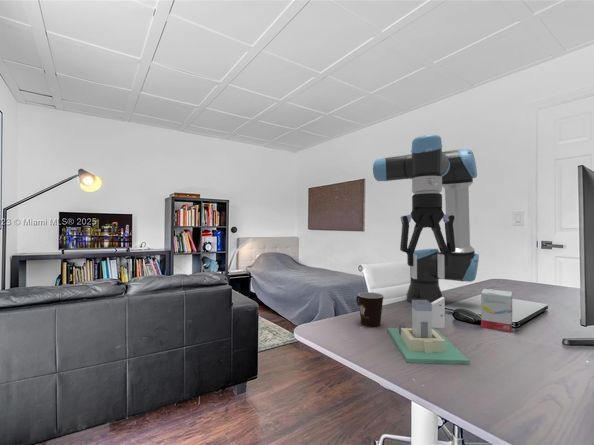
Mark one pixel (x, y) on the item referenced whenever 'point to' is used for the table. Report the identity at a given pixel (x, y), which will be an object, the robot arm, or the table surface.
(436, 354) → the board
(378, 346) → the table surface
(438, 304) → the white wedge bracket
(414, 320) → the plug
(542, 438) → the table surface
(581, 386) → the table surface
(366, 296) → the coffee mug
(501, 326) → the ink box
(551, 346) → the table surface
